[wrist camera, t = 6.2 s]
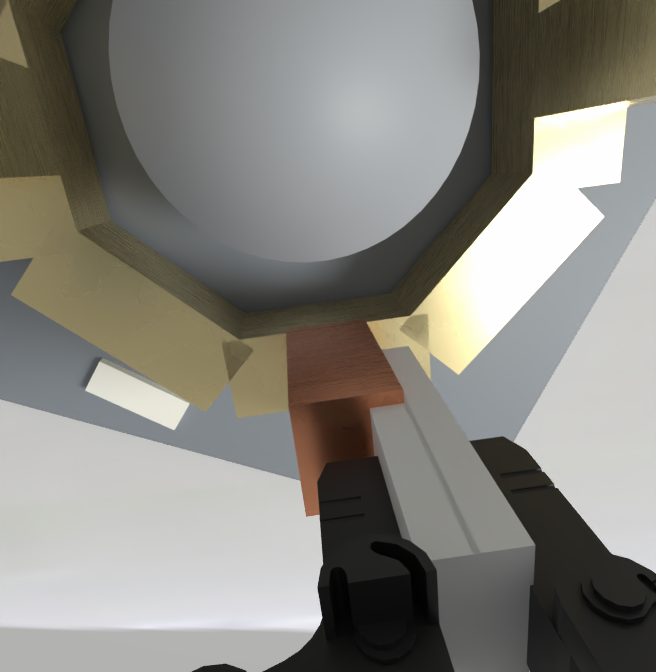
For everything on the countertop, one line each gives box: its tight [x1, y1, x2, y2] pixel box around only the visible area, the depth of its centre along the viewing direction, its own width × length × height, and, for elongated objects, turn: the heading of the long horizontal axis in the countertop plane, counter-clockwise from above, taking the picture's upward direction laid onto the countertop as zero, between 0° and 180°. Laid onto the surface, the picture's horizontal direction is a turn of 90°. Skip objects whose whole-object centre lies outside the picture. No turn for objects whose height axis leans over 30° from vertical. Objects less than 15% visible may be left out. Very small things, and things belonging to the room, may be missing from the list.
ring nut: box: [0, 0, 656, 517], centre depth 10 cm, size 17×17×7 cm
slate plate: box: [0, 0, 656, 480], centre depth 12 cm, size 24×24×6 cm
